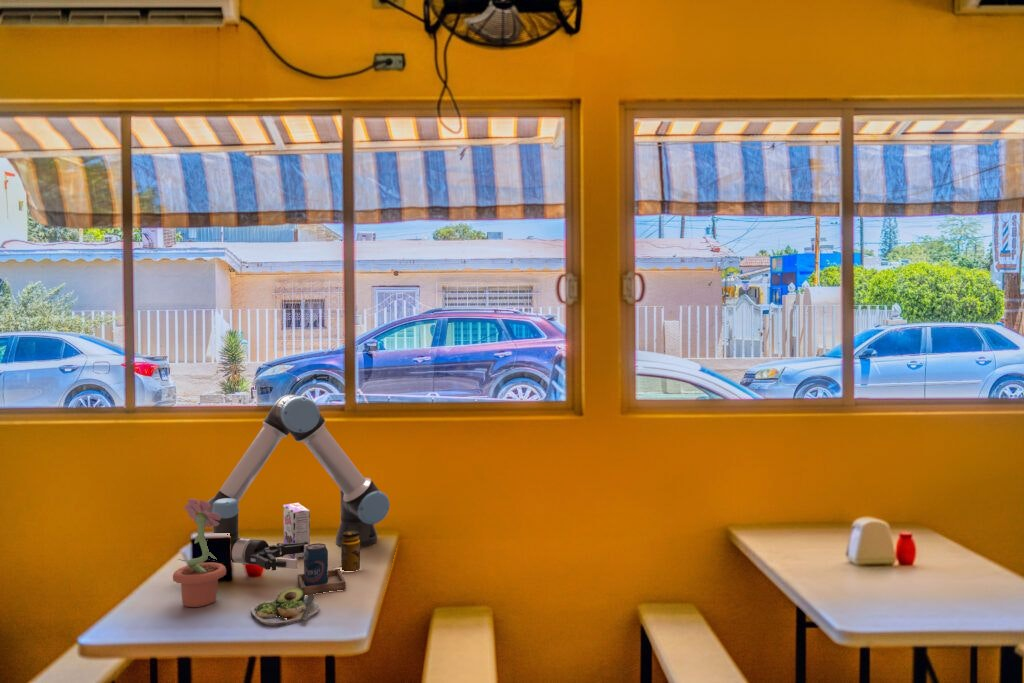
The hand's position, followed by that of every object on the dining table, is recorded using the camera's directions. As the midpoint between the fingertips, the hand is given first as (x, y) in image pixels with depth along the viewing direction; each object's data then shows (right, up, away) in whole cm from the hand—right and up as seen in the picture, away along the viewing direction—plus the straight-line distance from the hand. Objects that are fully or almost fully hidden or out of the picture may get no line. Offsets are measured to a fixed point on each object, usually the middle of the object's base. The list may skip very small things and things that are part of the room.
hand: (310, 557), depth 201 cm
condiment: (+8, -9, +15) cm, 19 cm away
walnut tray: (+4, -9, -1) cm, 9 cm away
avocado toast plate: (0, -9, -20) cm, 22 cm away
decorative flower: (-27, -9, -13) cm, 31 cm away
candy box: (-15, -9, +32) cm, 37 cm away
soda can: (+3, -8, -3) cm, 9 cm away
